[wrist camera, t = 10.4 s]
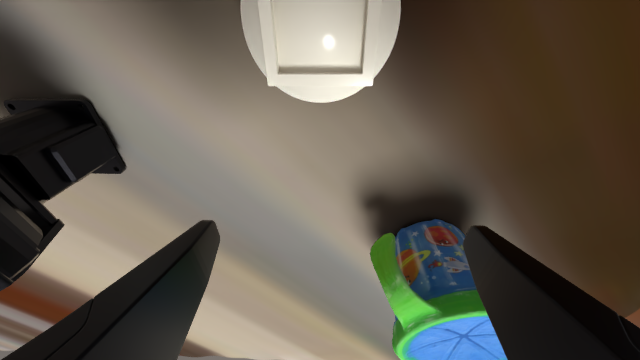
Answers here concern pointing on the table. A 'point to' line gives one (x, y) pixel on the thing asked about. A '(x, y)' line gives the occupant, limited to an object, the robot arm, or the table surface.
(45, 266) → the table surface
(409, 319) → the snack cup
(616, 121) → the table surface
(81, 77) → the table surface
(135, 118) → the table surface
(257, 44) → the cup
